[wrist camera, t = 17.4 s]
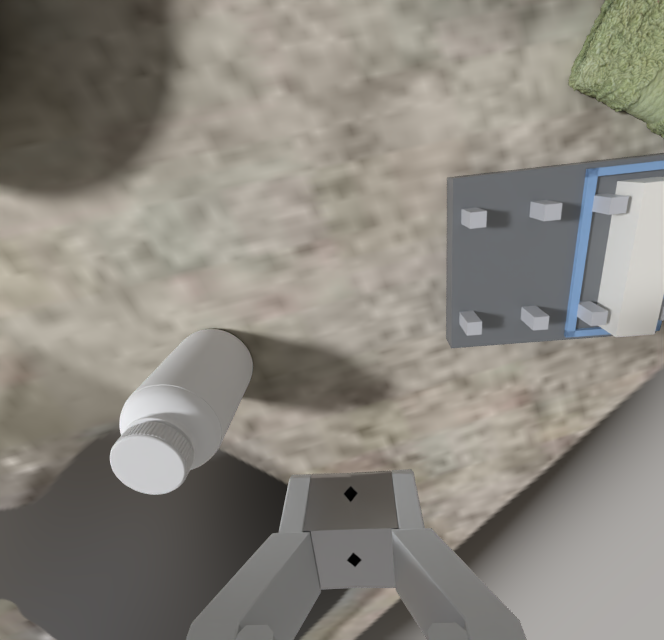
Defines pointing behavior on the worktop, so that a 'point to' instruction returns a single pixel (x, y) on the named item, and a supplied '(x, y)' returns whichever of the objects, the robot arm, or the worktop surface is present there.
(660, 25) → the washcloth
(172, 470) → the pill bottle
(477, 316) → the board
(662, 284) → the bar
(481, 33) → the worktop surface
